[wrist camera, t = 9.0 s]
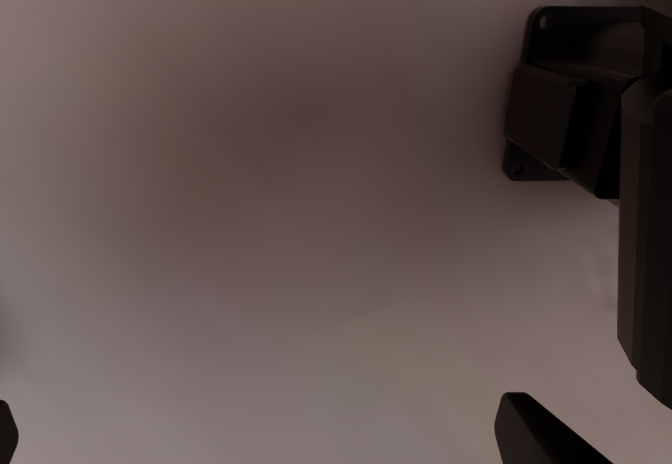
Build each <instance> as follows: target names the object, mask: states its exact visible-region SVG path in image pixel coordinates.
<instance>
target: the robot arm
mask: <svg viewBox="0 0 672 464" xmlns="http://www.w3.org/2000/svg"><path fill="white" fill-rule="evenodd" d="M544 15H547V16H548V21H549V22H548V24H547V26H546V27H545V28H543V29H542V28H541V27H540V20H541V18H542V17H543V16H544ZM504 135H505V136H506V137H507V144H506V149H505V155H504V161H503V166H502V169H503V173H504V175H505V176H507V177H508V178H509V179H510V180H513V181H557V180H572V181H573V182H575V183H576V184H578V185H579V186H581V187H582V188H583V189H585V190H586V191H588V192H589V193H591V194H592V195H594V196H595V197H597V198H600V199H606V200H608V201H609V202H611V203H612V204H614V205H615V206H617V207H618V208H619V246H618V300H617V338H618V340H619V342H620V344H621V346H622V348H623V350H624V352H625V353H626V355H627V357H628V359H629V361H630V363H631V365H632V366H633V367H634V368H635V369H636V370H637V374H636V379H637V381H638V382H639V384H640V385H642V386H643V387H644V388H645V389H646V390H647V391H648V392H649V393H650V394H652V395H653V396H654V397H655V398H656V399H657V400H658V401H659V402H661V403H662V404H663V405H665V406H666V407H668V408H670V409H671V410H672V0H651V1H647V2H644V3H642V4H641V7H591V6H543V7H539V8H537V9H536V10H534V11H533V13H532V14H531V15H530V18H529V20H528V25H527V31H526V36H525V42H524V48H523V53H522V59H521V64H519V65H518V66H517V67H516V69H515V70H514V74H513V79H512V85H511V91H510V97H509V103H508V108H507V114H506V120H505V126H504ZM516 164H520V168H519V170H517V171H516V172H512V168H513V166H515V165H516ZM494 430H495V436H496V440H497V444H498V447H499V451H500V455H501V458H502V462H503V464H613V463H612V462H611V461H609V460H608V459H607V458H606V457H605V456H603V455H602V454H601V453H600V452H598V451H597V450H596V449H595V448H594V447H592V446H591V445H590V444H589V443H587V442H586V441H585V440H584V439H583V438H581V437H580V436H579V435H578V434H577V433H575V432H574V431H573V430H572V429H570V428H569V427H568V426H567V425H566V424H564V423H563V422H562V421H561V420H559V419H558V418H557V417H556V416H555V415H553V414H552V413H551V412H550V411H548V410H547V409H546V408H545V407H544V406H542V405H541V404H540V403H539V402H538V401H536V400H535V399H534V398H533V397H531V396H530V395H529V394H527V393H525V392H506V393H504V394H503V395H502V398H501V401H500V405H499V408H498V412H497V415H496V419H495V424H494ZM18 438H19V434H18V429H17V426H16V424H15V421H14V419H13V416H12V413H11V411H10V408H9V405H8V404H7V403H6V402H5V401H4V400H0V464H10V461H11V459H12V457H13V454H14V452H15V449H16V447H17V443H18Z"/></svg>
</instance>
